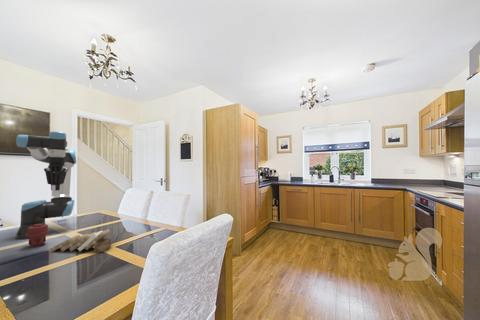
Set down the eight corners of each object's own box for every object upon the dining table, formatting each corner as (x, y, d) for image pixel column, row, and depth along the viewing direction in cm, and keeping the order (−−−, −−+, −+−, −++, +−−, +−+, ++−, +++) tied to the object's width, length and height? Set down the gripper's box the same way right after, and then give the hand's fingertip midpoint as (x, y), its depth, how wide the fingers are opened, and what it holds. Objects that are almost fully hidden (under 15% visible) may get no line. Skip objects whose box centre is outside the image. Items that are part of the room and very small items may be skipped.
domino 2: (60, 248, 105) (79, 236, 105) (69, 244, 111) (87, 233, 111) (62, 251, 105) (81, 239, 105) (71, 247, 111) (89, 235, 111)
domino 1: (50, 248, 104) (70, 238, 105) (60, 244, 110) (79, 234, 111) (51, 251, 104) (71, 241, 105) (61, 247, 110) (80, 237, 111)
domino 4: (88, 247, 111) (104, 232, 111) (79, 251, 105) (96, 236, 105) (85, 244, 111) (101, 230, 111) (77, 248, 105) (93, 233, 105)
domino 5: (84, 247, 105) (101, 232, 105) (92, 243, 111) (108, 228, 111) (86, 250, 105) (103, 234, 105) (94, 245, 111) (110, 231, 111)
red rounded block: (53, 242, 118) (32, 249, 108) (40, 241, 120) (19, 248, 110) (54, 222, 118) (34, 227, 108) (42, 221, 120) (21, 226, 110)
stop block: (93, 252, 104) (94, 242, 104) (104, 246, 112) (104, 237, 112) (101, 252, 104) (101, 242, 104) (111, 246, 112) (111, 237, 112)
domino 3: (69, 248, 105) (87, 235, 105) (78, 244, 111) (95, 231, 111) (71, 251, 105) (89, 238, 105) (80, 247, 111) (97, 234, 111)
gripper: (39, 156, 113) (37, 196, 111) (62, 156, 113) (60, 196, 111) (52, 157, 120) (50, 195, 119) (73, 157, 120) (71, 195, 119)
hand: (55, 195), depth 115 cm, fingers closed
